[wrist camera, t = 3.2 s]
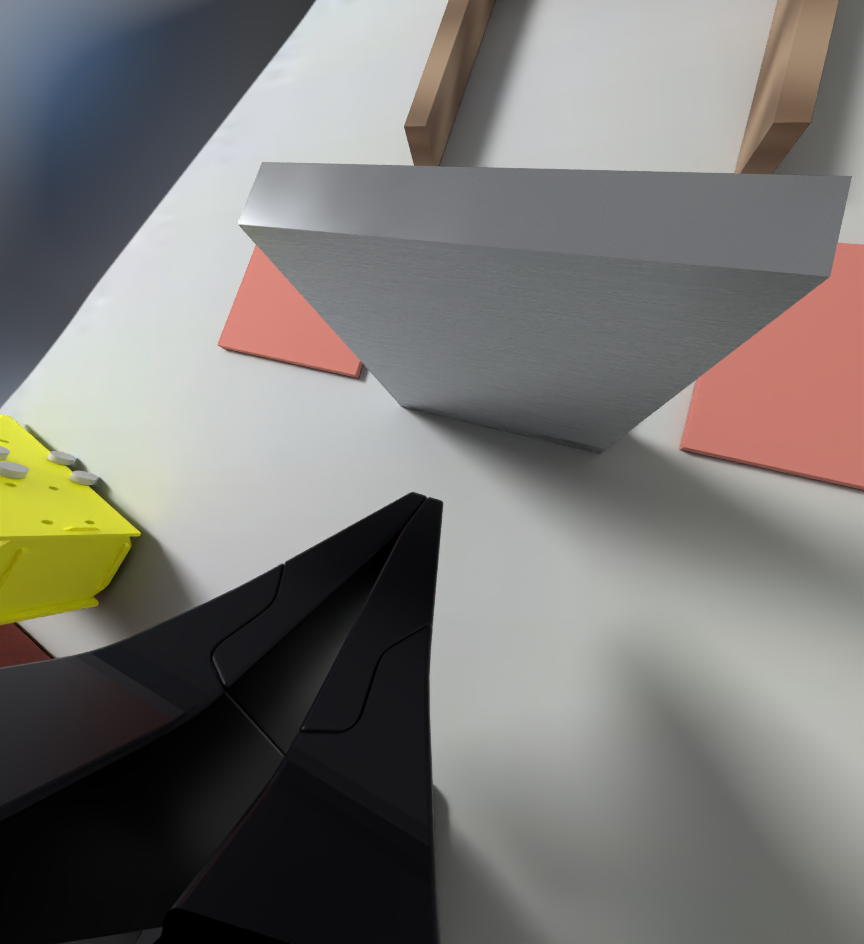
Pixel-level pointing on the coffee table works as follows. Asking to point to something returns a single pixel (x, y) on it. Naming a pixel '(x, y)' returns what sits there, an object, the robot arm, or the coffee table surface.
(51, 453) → the yellow toy chassis
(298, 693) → the robot arm
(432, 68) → the walnut corral
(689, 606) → the coffee table surface
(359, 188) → the grey bookend
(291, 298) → the mat
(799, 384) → the mat
